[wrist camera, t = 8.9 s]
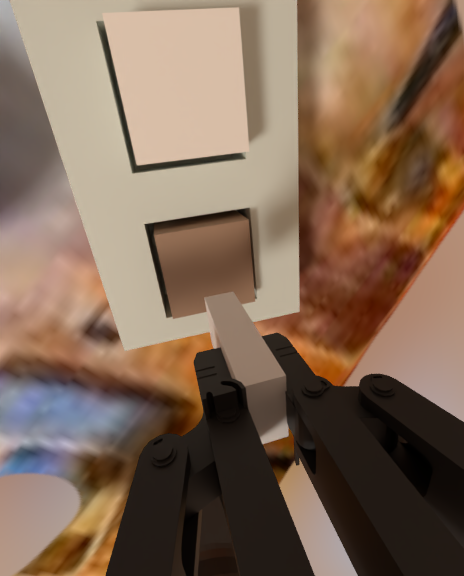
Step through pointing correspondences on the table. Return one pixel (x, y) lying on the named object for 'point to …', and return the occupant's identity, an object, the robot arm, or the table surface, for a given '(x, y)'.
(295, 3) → the key panel
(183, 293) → the walnut key
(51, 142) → the table surface
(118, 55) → the ivory key
